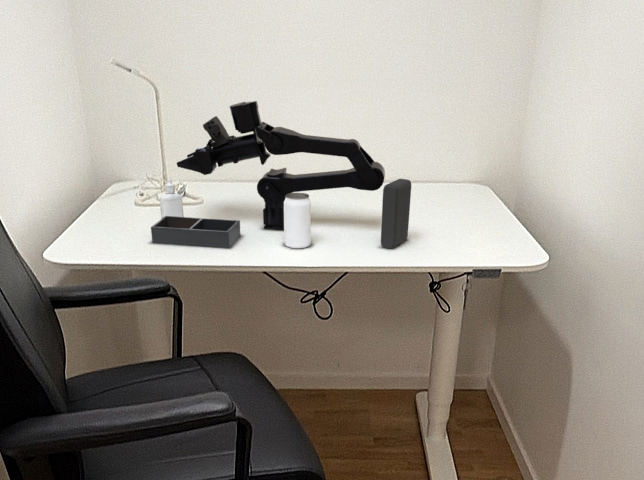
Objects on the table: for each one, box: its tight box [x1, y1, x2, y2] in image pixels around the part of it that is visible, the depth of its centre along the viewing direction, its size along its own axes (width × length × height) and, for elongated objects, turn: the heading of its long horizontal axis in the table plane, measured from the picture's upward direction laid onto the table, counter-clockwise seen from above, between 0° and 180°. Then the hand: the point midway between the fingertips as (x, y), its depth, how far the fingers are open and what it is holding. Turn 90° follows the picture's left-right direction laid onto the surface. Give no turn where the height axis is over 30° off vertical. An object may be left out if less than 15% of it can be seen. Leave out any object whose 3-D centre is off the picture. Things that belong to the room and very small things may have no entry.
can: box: [283, 192, 312, 250], centre depth 178 cm, size 6×6×12 cm
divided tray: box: [150, 216, 241, 249], centre depth 182 cm, size 10×19×4 cm, turn 80°
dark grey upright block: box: [380, 178, 412, 249], centre depth 179 cm, size 9×4×15 cm, turn 150°
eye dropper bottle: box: [159, 178, 185, 220], centre depth 190 cm, size 4×6×12 cm
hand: (182, 160), depth 188 cm, fingers open, 9 cm apart
